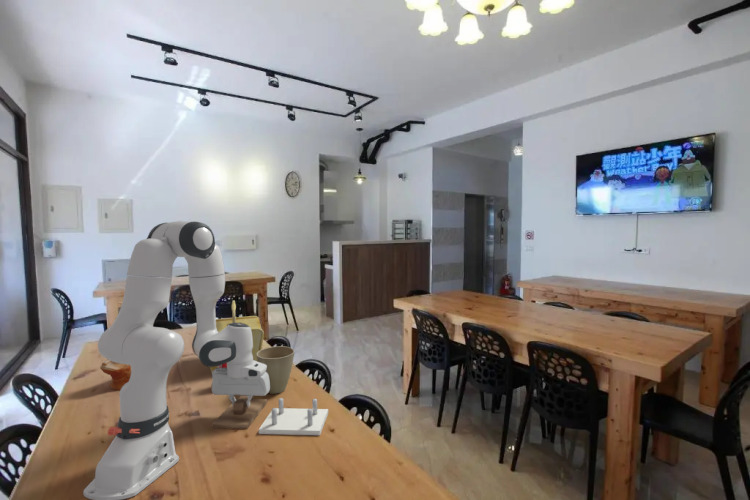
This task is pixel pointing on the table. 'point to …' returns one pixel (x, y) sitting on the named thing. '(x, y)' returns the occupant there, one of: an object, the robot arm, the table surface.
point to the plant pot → (277, 366)
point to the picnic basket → (248, 320)
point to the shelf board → (240, 414)
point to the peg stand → (294, 420)
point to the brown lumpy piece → (117, 373)
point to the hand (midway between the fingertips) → (241, 406)
